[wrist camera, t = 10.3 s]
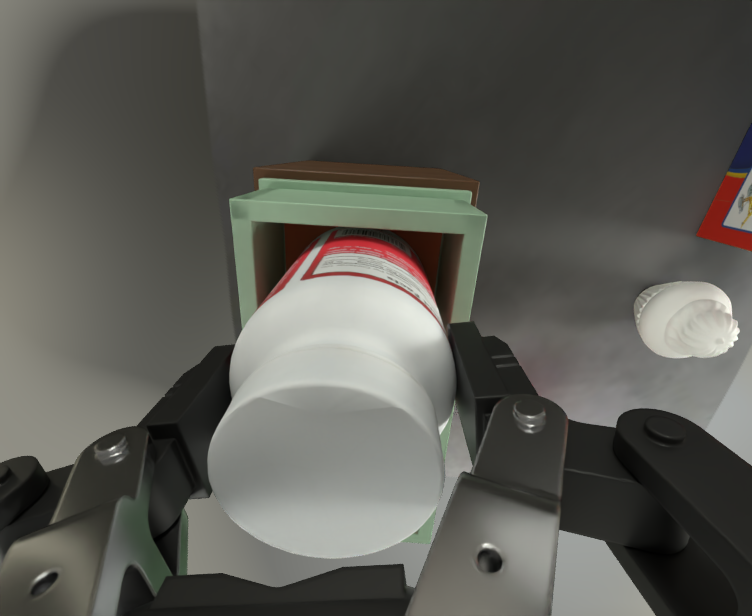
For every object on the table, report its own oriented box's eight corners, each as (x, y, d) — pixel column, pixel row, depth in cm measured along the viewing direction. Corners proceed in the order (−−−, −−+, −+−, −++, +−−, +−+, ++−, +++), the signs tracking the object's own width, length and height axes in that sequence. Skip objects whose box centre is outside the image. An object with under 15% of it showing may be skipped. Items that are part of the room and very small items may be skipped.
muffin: (637, 260, 29) (708, 291, 23) (707, 276, 30) (796, 311, 23) (602, 327, 32) (656, 372, 25) (667, 342, 32) (737, 390, 26)
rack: (307, 160, 27) (204, 173, 12) (442, 168, 27) (513, 192, 12) (310, 367, 34) (249, 542, 19) (417, 374, 34) (442, 554, 19)
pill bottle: (329, 359, 19) (263, 604, 9) (272, 251, 17) (93, 412, 7) (444, 319, 18) (522, 545, 8) (399, 198, 16) (423, 290, 5)
